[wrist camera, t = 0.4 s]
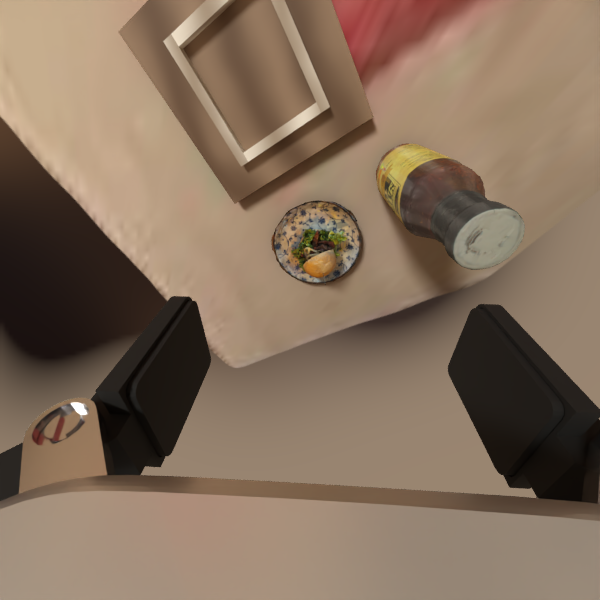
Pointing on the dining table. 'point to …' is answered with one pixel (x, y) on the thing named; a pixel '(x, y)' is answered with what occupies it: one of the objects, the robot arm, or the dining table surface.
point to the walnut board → (251, 81)
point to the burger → (317, 242)
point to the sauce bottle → (448, 206)
